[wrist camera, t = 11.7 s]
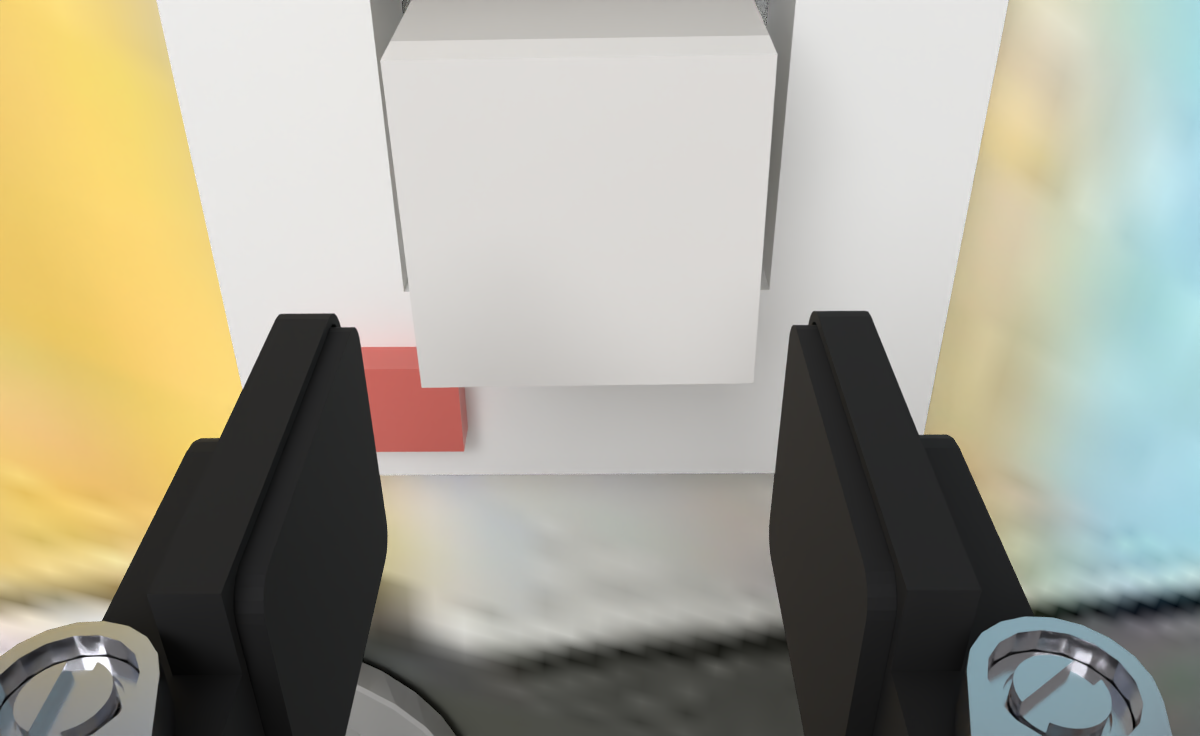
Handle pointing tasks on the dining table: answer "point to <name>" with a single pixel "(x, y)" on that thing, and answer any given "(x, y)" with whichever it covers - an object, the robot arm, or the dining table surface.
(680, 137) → the plug
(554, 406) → the socket plate
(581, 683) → the dining table surface
